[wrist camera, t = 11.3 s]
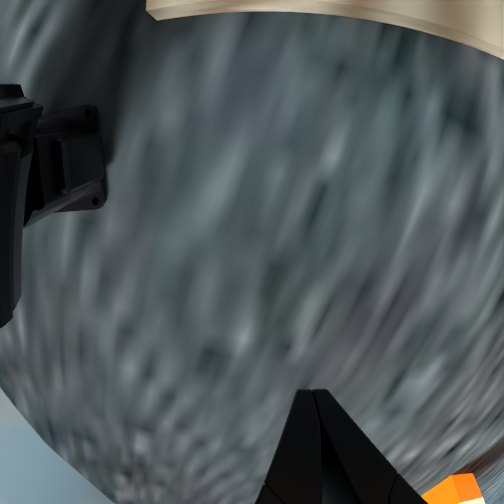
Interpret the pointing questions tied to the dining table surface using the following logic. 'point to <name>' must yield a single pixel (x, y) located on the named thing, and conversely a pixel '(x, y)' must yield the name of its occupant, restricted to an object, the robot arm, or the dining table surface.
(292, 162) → the dining table surface
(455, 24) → the stool seat
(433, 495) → the orange juice
